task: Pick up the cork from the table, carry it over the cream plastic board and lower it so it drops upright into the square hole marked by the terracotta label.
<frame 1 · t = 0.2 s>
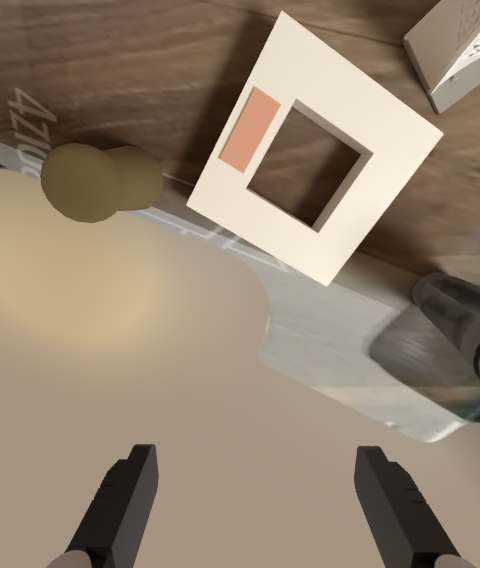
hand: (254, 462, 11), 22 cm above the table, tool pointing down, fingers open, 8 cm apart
hole board: (301, 170, 28), on the table
cork: (134, 178, 29), on the table
skyscraper: (446, 48, 24), on the table
beverage cup: (431, 290, 32), on the table
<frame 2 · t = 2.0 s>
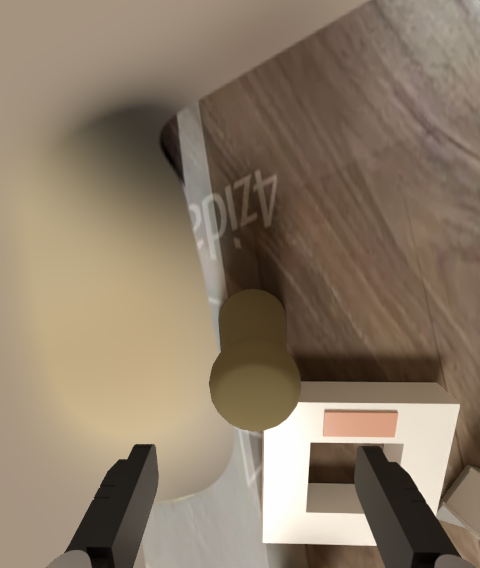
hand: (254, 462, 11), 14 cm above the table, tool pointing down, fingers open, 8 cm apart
hole board: (342, 452, 29), on the table
cork: (252, 320, 25), on the table
skyscraper: (473, 491, 30), on the table
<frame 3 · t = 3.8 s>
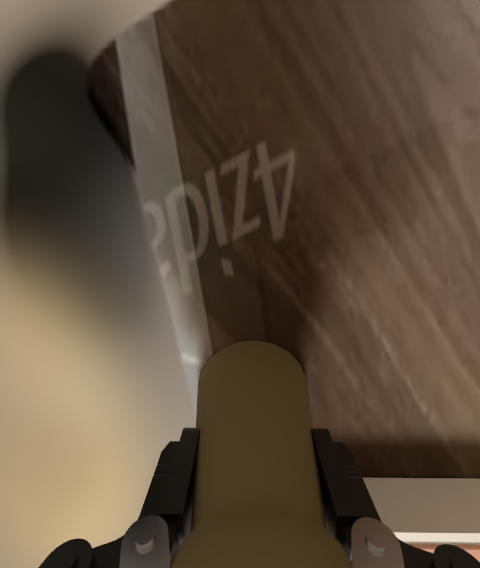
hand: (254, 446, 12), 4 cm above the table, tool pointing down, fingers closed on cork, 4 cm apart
cork: (252, 388, 16), on the table, touching gripper
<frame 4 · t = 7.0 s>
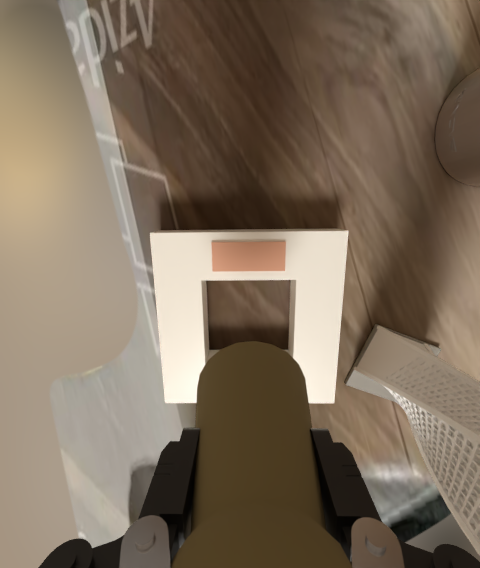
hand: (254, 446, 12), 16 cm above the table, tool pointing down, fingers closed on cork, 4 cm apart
hole board: (248, 312, 28), on the table
cork: (251, 388, 16), point 12 cm above the table, touching gripper
skyscraper: (385, 357, 29), on the table
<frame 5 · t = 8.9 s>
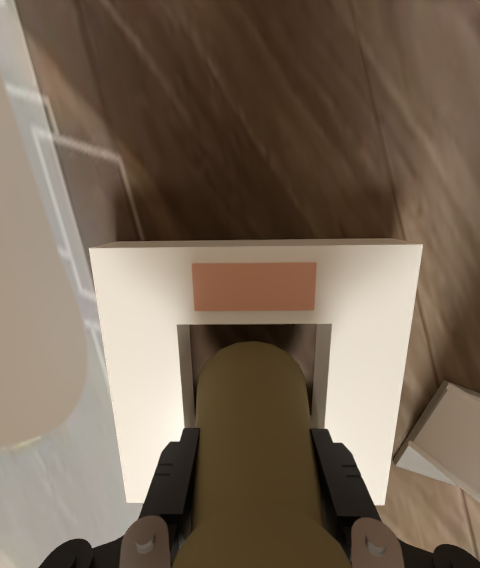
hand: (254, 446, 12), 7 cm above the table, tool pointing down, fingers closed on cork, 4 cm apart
hole board: (252, 363, 19), on the table
cork: (251, 388, 16), point 3 cm above the table, touching gripper
skyscraper: (455, 425, 20), on the table
when the fingers open (6 cm above the table, at t = 10.4 s): cork drops 2 cm, resting in hole board.
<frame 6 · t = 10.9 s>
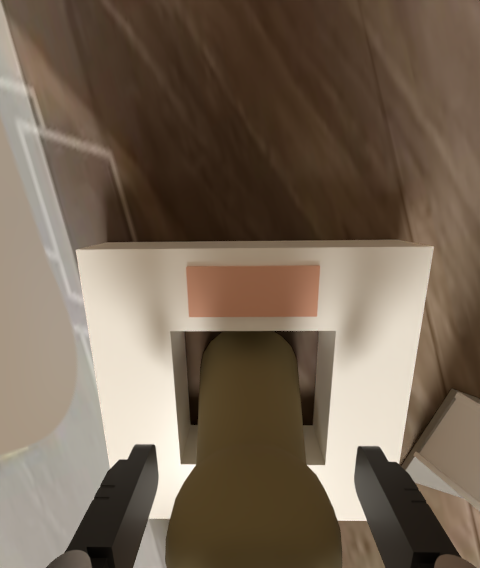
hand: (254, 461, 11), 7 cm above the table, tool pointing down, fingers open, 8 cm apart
hole board: (251, 370, 18), on the table
cork: (248, 368, 18), resting in hole board
skyscraper: (462, 436, 19), on the table
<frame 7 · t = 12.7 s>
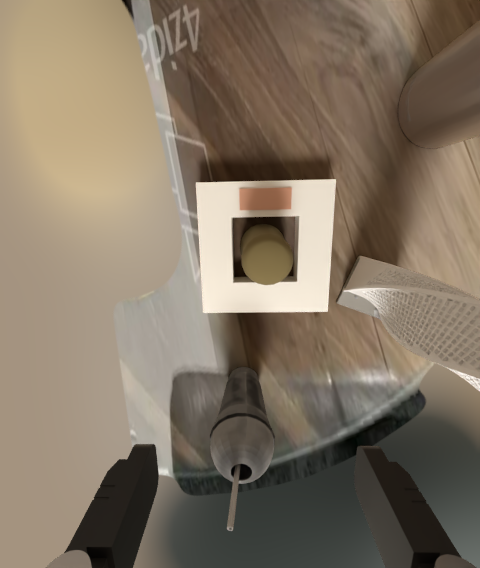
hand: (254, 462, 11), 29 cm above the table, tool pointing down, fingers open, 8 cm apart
hole board: (263, 247, 38), on the table
cork: (262, 246, 38), resting in hole board
skyscraper: (367, 282, 39), on the table
beverage cup: (243, 379, 43), on the table
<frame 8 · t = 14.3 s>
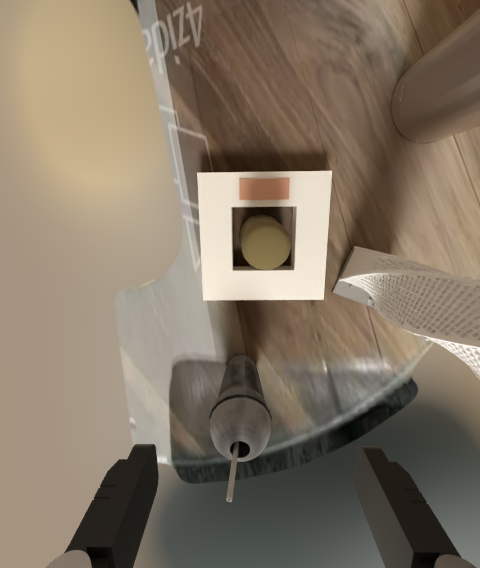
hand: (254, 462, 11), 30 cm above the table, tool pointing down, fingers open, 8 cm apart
hole board: (262, 237, 39), on the table
cork: (261, 236, 39), resting in hole board
skyscraper: (361, 272, 40), on the table
beverage cup: (241, 367, 44), on the table
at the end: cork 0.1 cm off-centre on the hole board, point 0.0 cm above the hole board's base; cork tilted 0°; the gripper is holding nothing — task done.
